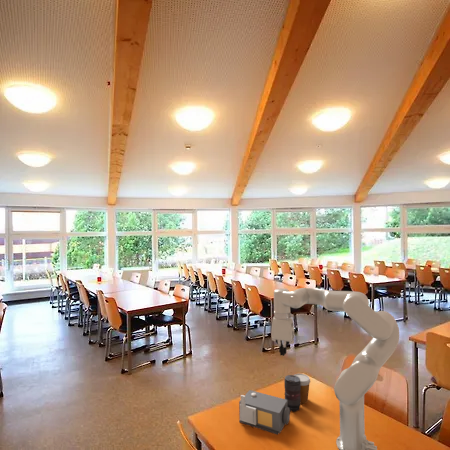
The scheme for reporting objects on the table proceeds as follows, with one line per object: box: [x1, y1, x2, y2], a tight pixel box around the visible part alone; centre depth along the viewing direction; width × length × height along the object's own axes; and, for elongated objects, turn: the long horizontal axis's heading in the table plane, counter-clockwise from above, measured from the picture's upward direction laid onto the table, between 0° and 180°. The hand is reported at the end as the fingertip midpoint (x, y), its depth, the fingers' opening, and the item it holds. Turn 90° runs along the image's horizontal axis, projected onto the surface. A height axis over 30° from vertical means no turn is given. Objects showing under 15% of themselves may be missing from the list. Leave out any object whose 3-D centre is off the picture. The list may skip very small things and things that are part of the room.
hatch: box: [239, 394, 256, 425], centre depth 142 cm, size 8×1×12 cm, turn 61°
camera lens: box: [283, 374, 301, 412], centre depth 156 cm, size 8×8×15 cm
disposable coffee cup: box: [293, 373, 311, 404], centre depth 162 cm, size 10×10×12 cm
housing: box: [238, 389, 291, 436], centre depth 145 cm, size 22×13×10 cm, turn 61°
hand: (282, 354), depth 144 cm, fingers closed
